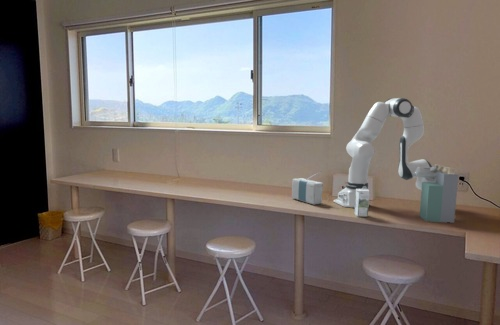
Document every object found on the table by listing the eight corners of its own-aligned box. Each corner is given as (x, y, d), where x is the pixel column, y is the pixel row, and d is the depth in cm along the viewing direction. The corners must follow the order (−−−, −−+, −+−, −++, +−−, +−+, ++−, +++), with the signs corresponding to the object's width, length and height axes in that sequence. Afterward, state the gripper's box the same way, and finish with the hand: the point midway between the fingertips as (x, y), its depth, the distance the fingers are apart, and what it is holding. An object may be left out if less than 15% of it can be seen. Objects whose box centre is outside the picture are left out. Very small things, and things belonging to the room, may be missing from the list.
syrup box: (364, 214, 219) (366, 188, 218) (368, 217, 214) (369, 190, 212) (354, 214, 219) (355, 188, 217) (357, 217, 213) (359, 190, 212)
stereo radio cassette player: (291, 199, 255) (292, 167, 253) (301, 197, 260) (302, 167, 257) (313, 205, 238) (314, 172, 235) (323, 204, 242) (325, 171, 240)
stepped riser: (419, 216, 217) (422, 170, 214) (446, 217, 216) (450, 171, 213) (426, 221, 207) (429, 173, 204) (454, 222, 206) (458, 174, 203)
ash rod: (434, 169, 222) (434, 164, 222) (439, 169, 222) (439, 164, 222) (448, 174, 203) (449, 169, 203) (454, 174, 203) (454, 169, 203)
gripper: (411, 170, 232) (419, 161, 219) (448, 171, 231) (458, 162, 218) (412, 180, 230) (421, 171, 217) (449, 182, 228) (460, 173, 216)
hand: (440, 167), depth 217 cm, fingers closed on ash rod, 3 cm apart
